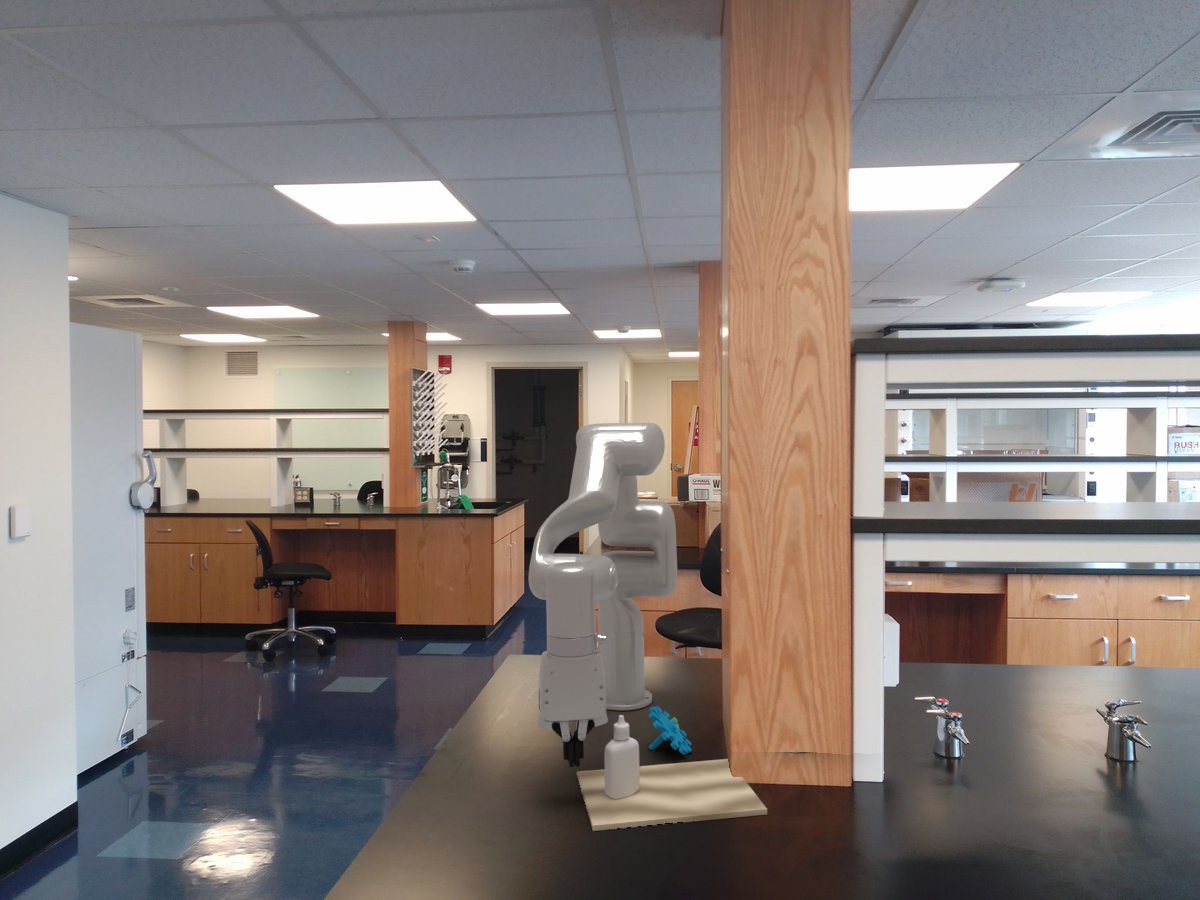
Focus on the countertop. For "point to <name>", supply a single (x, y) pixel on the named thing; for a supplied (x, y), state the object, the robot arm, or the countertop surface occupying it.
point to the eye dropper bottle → (621, 763)
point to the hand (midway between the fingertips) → (573, 763)
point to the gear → (669, 731)
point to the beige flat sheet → (671, 796)
